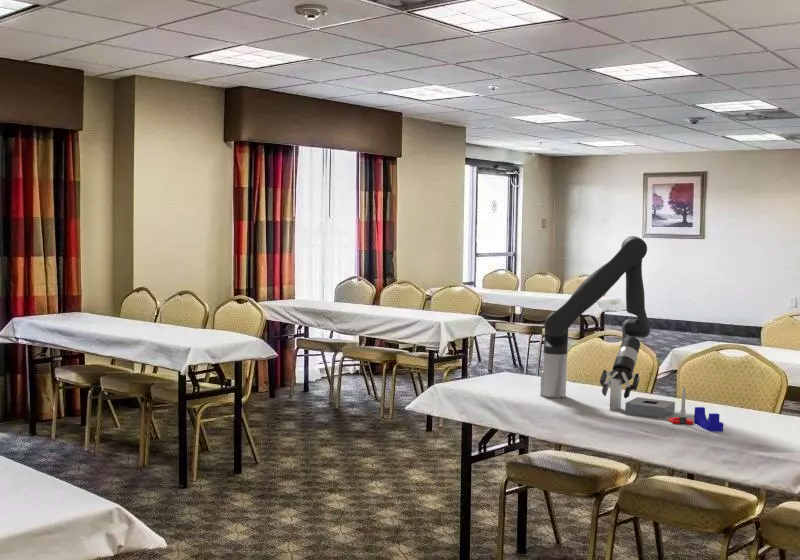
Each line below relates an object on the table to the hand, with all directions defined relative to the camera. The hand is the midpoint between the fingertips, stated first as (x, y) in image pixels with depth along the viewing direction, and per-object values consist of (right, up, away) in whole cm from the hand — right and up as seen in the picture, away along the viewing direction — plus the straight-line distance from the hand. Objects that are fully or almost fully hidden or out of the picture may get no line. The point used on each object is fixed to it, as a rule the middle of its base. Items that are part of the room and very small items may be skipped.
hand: (614, 395), depth 323 cm
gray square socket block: (+12, -6, -5) cm, 14 cm away
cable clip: (+25, -8, -27) cm, 38 cm away
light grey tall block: (+1, -5, +2) cm, 5 cm away
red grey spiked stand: (+18, -7, -19) cm, 27 cm away
